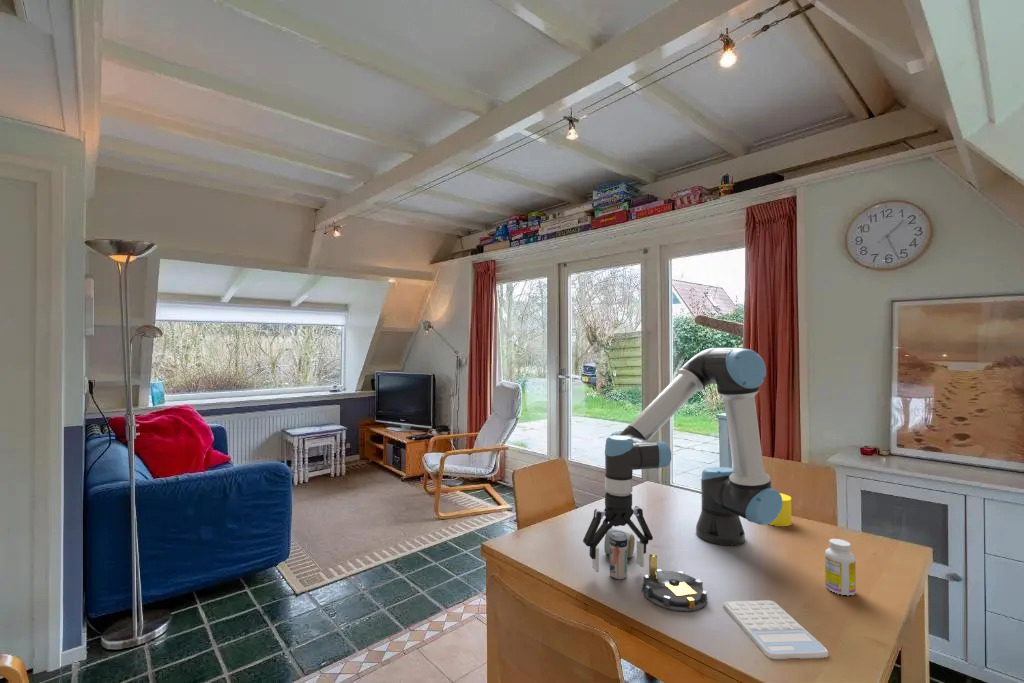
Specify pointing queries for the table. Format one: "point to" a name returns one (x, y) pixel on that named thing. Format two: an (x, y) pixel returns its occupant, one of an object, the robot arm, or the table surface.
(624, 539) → the beer can
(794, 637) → the calculator
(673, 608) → the hub plate
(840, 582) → the supplement bottle
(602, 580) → the table surface
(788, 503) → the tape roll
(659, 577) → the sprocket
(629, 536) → the ceramic mug
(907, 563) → the table surface
